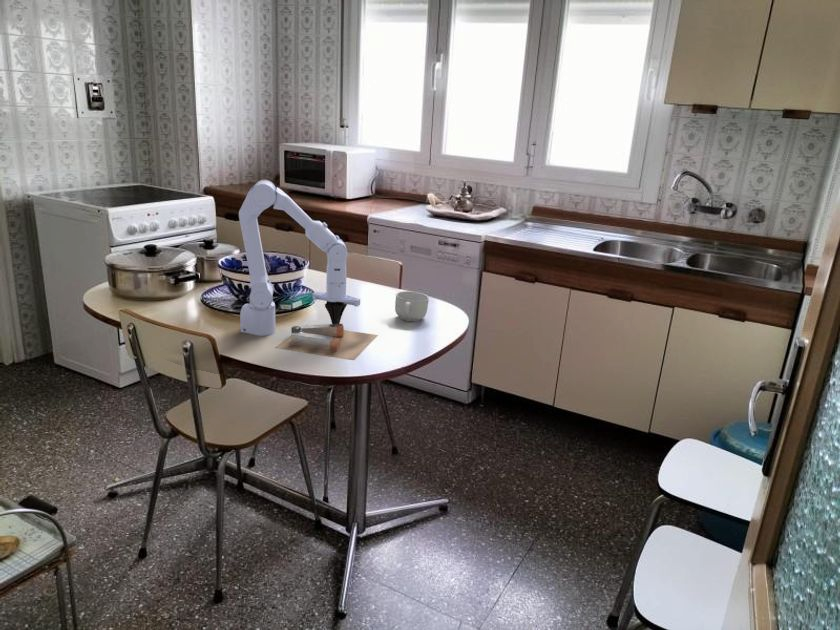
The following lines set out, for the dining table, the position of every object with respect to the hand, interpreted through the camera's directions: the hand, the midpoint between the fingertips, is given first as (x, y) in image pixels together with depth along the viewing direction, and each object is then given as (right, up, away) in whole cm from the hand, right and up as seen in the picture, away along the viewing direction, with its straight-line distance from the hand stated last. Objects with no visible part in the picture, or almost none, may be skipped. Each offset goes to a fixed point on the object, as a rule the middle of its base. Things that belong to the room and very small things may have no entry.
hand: (335, 325), depth 183 cm
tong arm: (-3, -3, -5) cm, 7 cm away
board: (-1, -5, -8) cm, 10 cm away
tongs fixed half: (-4, -5, -11) cm, 13 cm away
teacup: (+22, +1, +16) cm, 27 cm away
